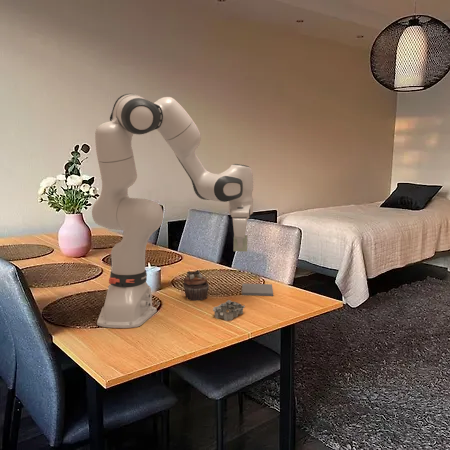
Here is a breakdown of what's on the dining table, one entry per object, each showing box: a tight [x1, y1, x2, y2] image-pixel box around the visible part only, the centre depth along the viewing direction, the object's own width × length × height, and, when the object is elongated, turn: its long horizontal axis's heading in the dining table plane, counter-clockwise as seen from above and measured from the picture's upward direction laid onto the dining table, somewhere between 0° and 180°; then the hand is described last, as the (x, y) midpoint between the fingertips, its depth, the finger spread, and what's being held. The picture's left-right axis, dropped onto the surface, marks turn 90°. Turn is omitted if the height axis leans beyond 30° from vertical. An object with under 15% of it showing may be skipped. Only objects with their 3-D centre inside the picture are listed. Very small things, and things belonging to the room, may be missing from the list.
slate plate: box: [241, 283, 274, 297], centre depth 181 cm, size 12×12×1 cm
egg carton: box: [212, 299, 245, 322], centre depth 154 cm, size 11×8×4 cm
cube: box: [233, 234, 249, 252], centre depth 170 cm, size 5×5×5 cm
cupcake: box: [182, 269, 210, 302], centre depth 172 cm, size 10×10×10 cm
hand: (240, 245), depth 170 cm, fingers closed on cube, 5 cm apart
